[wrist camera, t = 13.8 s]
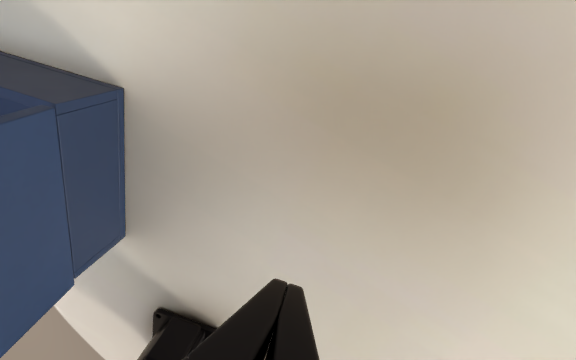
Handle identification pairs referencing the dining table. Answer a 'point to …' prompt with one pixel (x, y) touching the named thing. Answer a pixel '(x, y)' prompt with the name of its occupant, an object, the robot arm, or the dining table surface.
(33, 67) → the lunchbox
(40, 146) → the lunchbox lid
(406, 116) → the dining table surface
